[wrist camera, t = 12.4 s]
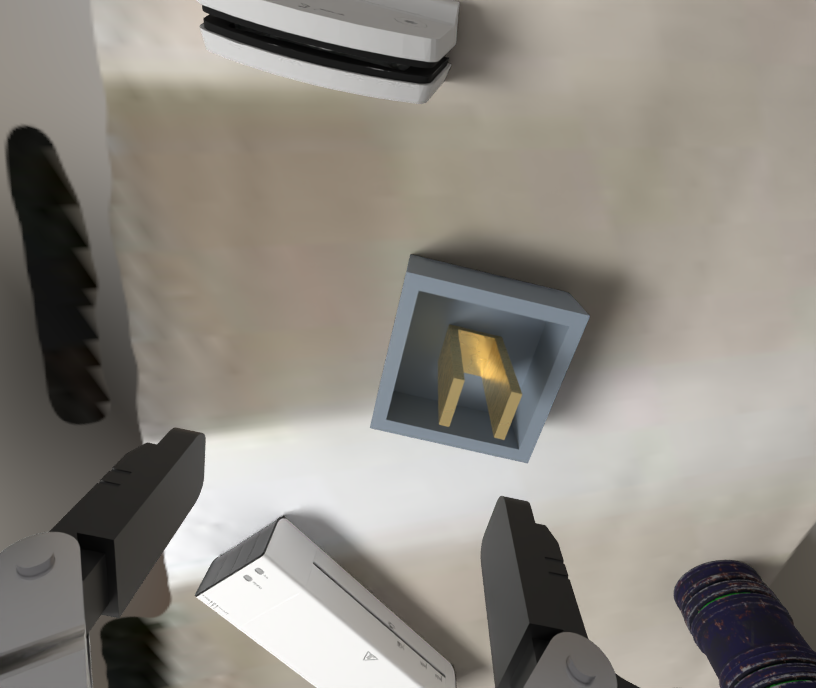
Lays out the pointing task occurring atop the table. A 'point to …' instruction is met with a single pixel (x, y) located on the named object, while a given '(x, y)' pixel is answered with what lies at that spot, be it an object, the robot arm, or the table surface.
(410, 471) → the table surface
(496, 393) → the bracket
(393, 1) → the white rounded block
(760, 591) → the storage jar
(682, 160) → the table surface
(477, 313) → the box
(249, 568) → the laminator
